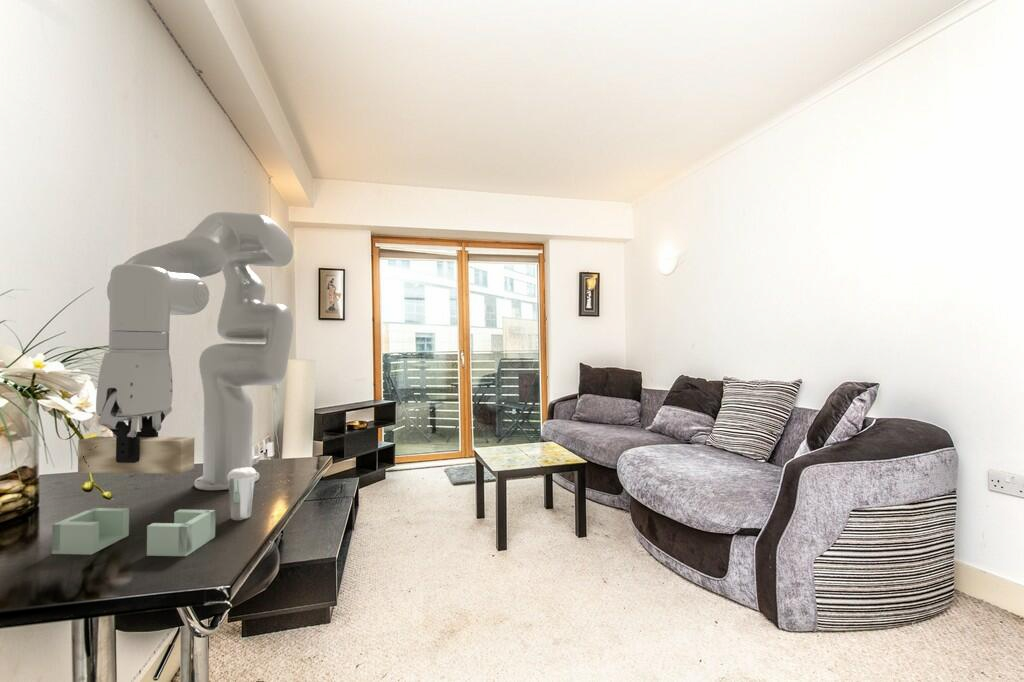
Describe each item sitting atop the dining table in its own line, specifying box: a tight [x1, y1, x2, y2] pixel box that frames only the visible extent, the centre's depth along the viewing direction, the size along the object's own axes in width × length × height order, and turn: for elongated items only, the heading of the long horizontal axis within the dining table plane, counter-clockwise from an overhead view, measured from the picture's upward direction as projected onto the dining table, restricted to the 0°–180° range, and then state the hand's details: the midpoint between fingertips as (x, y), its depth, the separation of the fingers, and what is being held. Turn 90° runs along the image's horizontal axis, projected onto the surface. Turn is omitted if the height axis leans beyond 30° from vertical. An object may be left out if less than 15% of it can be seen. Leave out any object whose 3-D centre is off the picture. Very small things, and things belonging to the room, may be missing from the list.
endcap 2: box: [146, 508, 216, 557], centre depth 74 cm, size 6×7×4 cm
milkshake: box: [227, 459, 257, 521], centre depth 87 cm, size 4×5×10 cm
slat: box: [77, 436, 195, 474], centre depth 74 cm, size 16×3×5 cm, turn 90°
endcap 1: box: [51, 507, 130, 555], centre depth 74 cm, size 6×7×4 cm
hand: (137, 458), depth 74 cm, fingers closed on slat, 3 cm apart
